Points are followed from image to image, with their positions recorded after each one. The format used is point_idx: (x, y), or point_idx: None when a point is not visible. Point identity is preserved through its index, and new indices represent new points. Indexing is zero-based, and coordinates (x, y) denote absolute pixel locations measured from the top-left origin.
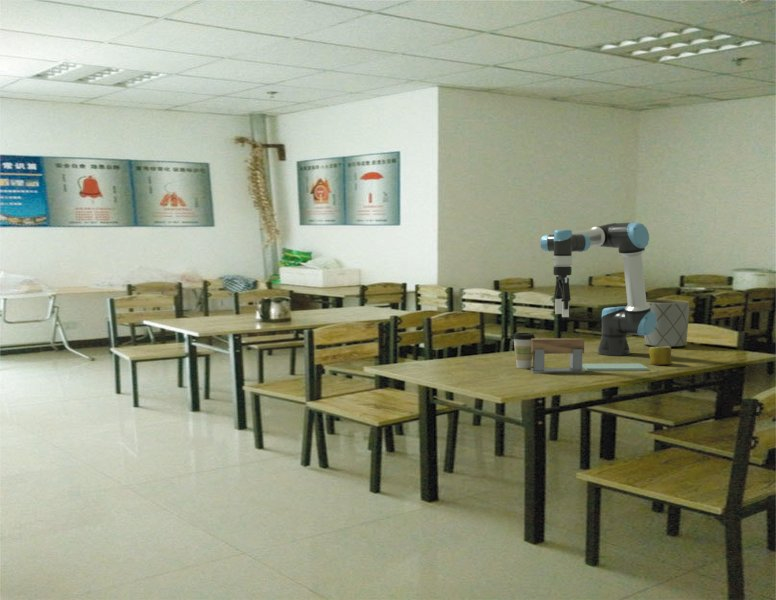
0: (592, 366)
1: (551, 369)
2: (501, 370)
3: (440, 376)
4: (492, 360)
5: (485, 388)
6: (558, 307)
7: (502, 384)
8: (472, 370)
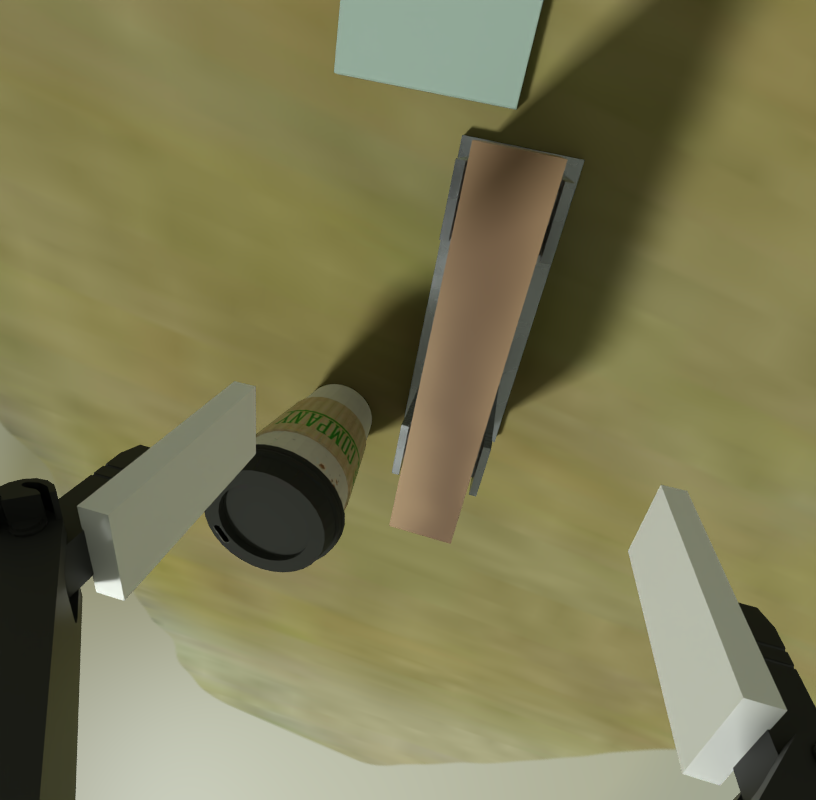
0: (454, 30)
1: None
2: None
3: (467, 713)
4: None
5: None
6: (208, 472)
7: None
8: (377, 604)
